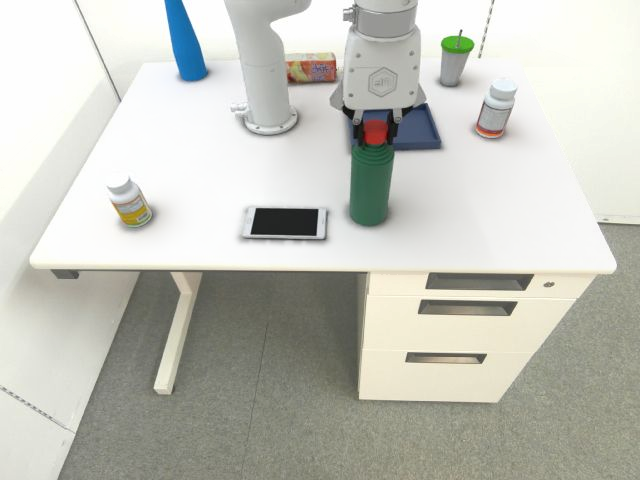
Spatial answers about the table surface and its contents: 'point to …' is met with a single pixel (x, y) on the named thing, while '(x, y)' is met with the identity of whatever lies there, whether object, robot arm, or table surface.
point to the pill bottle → (496, 108)
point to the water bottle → (370, 182)
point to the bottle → (184, 42)
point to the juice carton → (310, 67)
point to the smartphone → (285, 223)
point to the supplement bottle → (128, 200)
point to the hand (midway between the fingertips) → (374, 139)
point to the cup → (454, 58)
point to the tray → (407, 128)
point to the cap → (375, 131)
